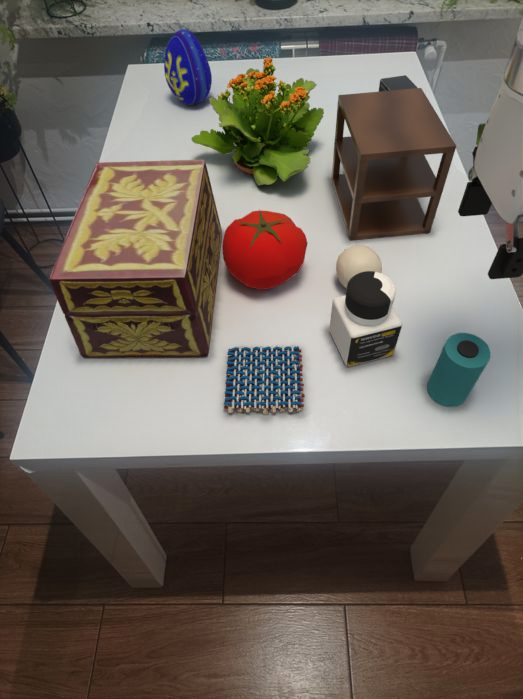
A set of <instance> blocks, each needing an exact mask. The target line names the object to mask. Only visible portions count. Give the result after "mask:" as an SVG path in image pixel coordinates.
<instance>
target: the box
mask: <svg viewBox="0 0 523 699" xmlns="http://www.w3.org/2000/svg"><path fill="white" fill-rule="evenodd" d="M414 88H419V87H418V86H417V85H416V84H415V82H413V81H412V80H411V79H410V78H409V77H408V75H406V74H405V75H397V76H389V77H383V78H380V79H379V86H378V91H377V92H380V91H391V90H403V89H414Z"/></svg>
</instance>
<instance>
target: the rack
mask: <svg viewBox="0 0 523 699" xmlns="http://www.w3.org/2000/svg"><path fill="white" fill-rule="evenodd" d="M336 108H337V109H336V121H335V132H334V145H333V156H332V157H333V158H332V167H331V183H332V187H333V190H334V193H335V196H336V199H337V200H336V201H337V202H338V206H339V210H340V213H341V216H342V220H343V223H344V227H345V230H346V233H347V237H348V240H349V241H358V240H369V239H370V240H371V239H380V238H381V239H382V238H392V237H402V236H412V235H422V234H431V231H432V228H433V224H434V221H435V219H436V214H437V212H438V207H439V205H440V202H441V199H442V195H443V192H444V188H445V184H446V182H447V179H448V175H449V173H450V168H451V165H452V162H453V159H454V156H455V152H456V149H457V145H456V143H455V141H454V139H453V138H452V136H451V135H450V133H449V131H448V129H447V128H446V126H445V125H444V123H443V121H442V119H441V118H440V116H439V115H438V113H437V111H436V110H435V108H434V107H433V105H432V103H431V102H430V100H429V98H428V97H427V95H426V93H425V92H424V90H423V88H422V87H418V88H414V89H403V90H391V91H380V92H378V91H369V92H359V93H348V94H347V93H346V94H339V95H338V96H337V107H336ZM345 123H346V127H347V129H348V132H349V135H350V136H344V130H345ZM440 154H442V155H441V159H440V162H439V165H438V169H437V173H436V174H435V173H434V171H433V169H432V167H431V165H430V163H429V161H428V160H427V158H426V156H427V155H440ZM341 168H342V170H343V173H341V172H340V171H341ZM421 198H429V201H428V204H427V207H426V212H424V209H423V207H422V205H421V203H420V201H419V199H421Z"/></svg>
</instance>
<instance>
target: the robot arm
mask: <svg viewBox="0 0 523 699" xmlns="http://www.w3.org/2000/svg"><path fill="white" fill-rule="evenodd" d="M500 83H501V84H500V88H499V91H498V92H497V94H496V97H495V99H494V102H493V105H492V107H491V109H490V111H489V115H488V117H487V120H486V122H485V123H479V124H478V126H477V134H476V144H475V145H476V146H474V147H473V151H472V153H471V154H472V165H473V166H472V167H470V168H469V169H468V171H467V172H468V173H467V178H468V181H467V183H466V186H465V189H464V192H463V194H462V198H461V201H460V204H459V207H458V209H457V213H458V215H459V216H460V217H473V216H486V215H487V214H488V213H489V212H490V209H491V206H492V205H493V207H494V208H495V211H496V212H497V214H498V215H499V216H500V218H501V219H503V220H504V221H505V222H506V231H505V243H502V244H500V245H499V247H498V249H497V251H496V254H495V256H494V258H493V260H492V263H491V264H490V267H489V269H488V272H487V276H488V278H489V280H501V279H514V278H520V277H522V275H523V237H520V223H523V17H522V18H521V22H520V24H519V27H518V30H517V33H516V36H515V40H514V42H513V45H512V48H511V51H510V54H509V58H508V61H507V64H506V67H505V69H504V73H503V75H502V78H501V81H500Z"/></svg>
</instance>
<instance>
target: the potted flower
mask: <svg viewBox="0 0 523 699" xmlns="http://www.w3.org/2000/svg"><path fill="white" fill-rule="evenodd" d="M273 59H274V58H273V57H266V58H265V57H264V58H263V61H262V64H263V66H262V68H263V69H262V71H261V70H260V69H257V68H256V69H254V68H253V67H250V68H248V69H247V70H246V72H245V73H239V74H237V76H235V78H231V79H230V80H229V82H228V83H227V85H226V88H225V91H224V92H223V91H221V92H220V94H218V93H217V94H216V95H217V96H216V97H217V98H216V97H214V96H211V97H209V98H208V99H209V100H208V101H209V104H210V105H211V106H212V110H213V111H214V112H215V113H216V114H218V121H219V123H218V127H219V128H222V131H220V130H219V131H218V130H215V129H213V128H211V129H210V130H209V131H210V132H209V131H208V130H201V131H199V134H194V135H193V136H192V137H191V142H192V143H194V144H197V145H201V146H203V147H207V148H210V149H212V150H214V151H216V152H217V153H218V154H220V155H228V154H230V153H232V152H234V153H233V154H232V156H231V157H232V159H233V163H234V165H235V166H236V167H237V168H238V169H239V170H241V171H243V172H244V173H246V174H249V175H253V178H254V181H255V183H256V185H257V186H260V187H261V186H264V185H268V186H270V185H273V184H275V182H276V181H277V180H278V177H279V178H280V180H281V181H282V182H286V181H287V180H288V179H290V178H291V177H292V176H294V175H296V174H298V173H300V172H302V171H304V170H306V169H307V168H309V166H308V165H310V163H311V157H310V156H308V154H309V152H310V149H309V148H308V147H309V145H310V142H311V141H312V138H313V137H314V136H315V132H316V130H317V128H318V126H319V125H320V123H321V122H322V121H321V120H323V118H324V114H325V112H324V111H325V110H324V108H322V107H318V108H317V107H313V108H310V107H311V104H310V103H309V102H308V101H309V100H310V98H311V96H310V93H311V91H313V90H314V89H315V88H316V87H317V85H318V83H316V82H315V81H314V80H308V79H304V78H303V77H300V78H298V79H296V81H293V82H292V84H289V83H286V82H285V81H283V79H280V80H279V82H276V80H277V77H276V76H275V75H274V73H275V71H276V66H275V65H274V62H273ZM230 88H231V89H232V92H231V91H230V90H228V89H230ZM277 88H278V89H277ZM276 90H277V92H276ZM231 95H232V96H231ZM230 96H231V97H230ZM231 100H232V102H230V101H231Z"/></svg>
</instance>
